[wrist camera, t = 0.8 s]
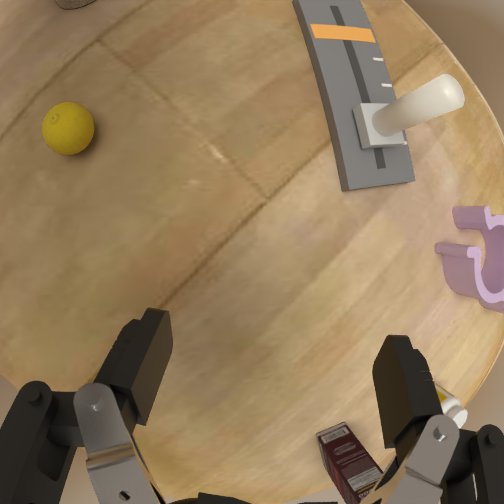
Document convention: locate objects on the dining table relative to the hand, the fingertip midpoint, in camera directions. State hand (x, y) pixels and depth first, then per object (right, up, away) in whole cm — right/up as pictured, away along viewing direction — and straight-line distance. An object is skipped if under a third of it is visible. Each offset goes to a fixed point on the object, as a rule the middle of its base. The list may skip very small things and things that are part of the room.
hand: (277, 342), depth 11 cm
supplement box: (+11, -26, +29) cm, 40 cm away
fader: (+14, +18, +22) cm, 32 cm away
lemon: (-21, +16, +20) cm, 33 cm away
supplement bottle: (+26, -20, +31) cm, 45 cm away
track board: (+12, +25, +24) cm, 37 cm away
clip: (+35, +1, +30) cm, 46 cm away
